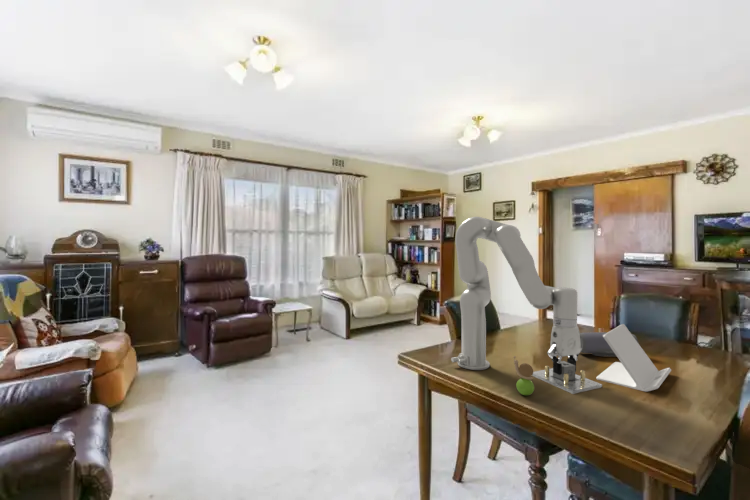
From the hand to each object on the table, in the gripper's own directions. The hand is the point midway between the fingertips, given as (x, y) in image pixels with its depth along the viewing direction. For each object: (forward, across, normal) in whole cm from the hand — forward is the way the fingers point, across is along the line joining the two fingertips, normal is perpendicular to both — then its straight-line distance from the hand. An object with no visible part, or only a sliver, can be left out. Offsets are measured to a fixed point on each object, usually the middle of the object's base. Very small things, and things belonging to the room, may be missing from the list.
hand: (564, 371), depth 129 cm
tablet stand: (+4, +27, -7) cm, 28 cm away
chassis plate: (+3, 0, 0) cm, 3 cm away
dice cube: (+2, 0, 0) cm, 2 cm away
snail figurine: (+4, -22, -3) cm, 22 cm away
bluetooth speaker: (+4, +41, +14) cm, 43 cm away
